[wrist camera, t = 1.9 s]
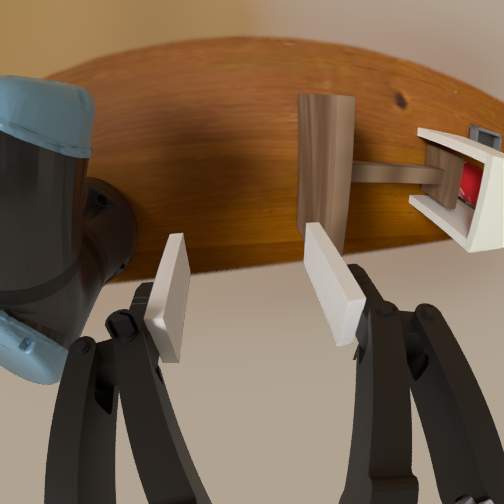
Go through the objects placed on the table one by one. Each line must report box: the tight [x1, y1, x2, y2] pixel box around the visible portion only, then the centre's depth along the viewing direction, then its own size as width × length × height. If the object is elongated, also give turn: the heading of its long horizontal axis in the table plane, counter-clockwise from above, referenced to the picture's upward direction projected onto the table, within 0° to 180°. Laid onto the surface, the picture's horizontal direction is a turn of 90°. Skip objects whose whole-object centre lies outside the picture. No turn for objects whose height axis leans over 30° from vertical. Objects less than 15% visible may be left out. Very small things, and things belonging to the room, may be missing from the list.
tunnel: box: [409, 128, 504, 253], centre depth 27 cm, size 10×11×14 cm
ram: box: [297, 94, 465, 257], centre depth 28 cm, size 20×17×12 cm
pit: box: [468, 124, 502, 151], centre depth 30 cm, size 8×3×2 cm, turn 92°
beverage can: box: [458, 161, 484, 207], centre depth 29 cm, size 5×5×12 cm
